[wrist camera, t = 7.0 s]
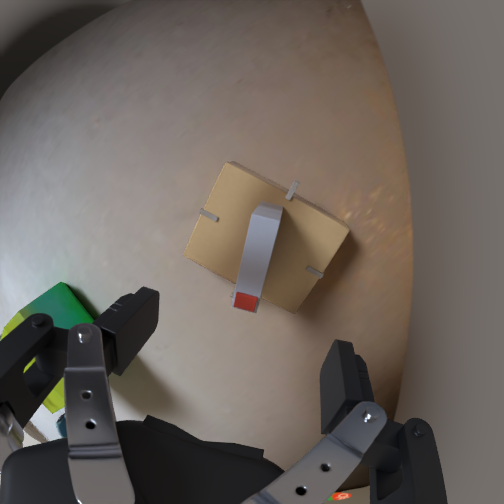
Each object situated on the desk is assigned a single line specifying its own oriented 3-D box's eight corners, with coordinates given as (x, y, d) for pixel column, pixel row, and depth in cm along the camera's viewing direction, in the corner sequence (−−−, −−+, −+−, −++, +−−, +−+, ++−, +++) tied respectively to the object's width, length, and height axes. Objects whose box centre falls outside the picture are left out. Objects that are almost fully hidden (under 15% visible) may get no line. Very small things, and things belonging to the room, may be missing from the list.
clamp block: (352, 211, 21) (360, 218, 19) (289, 309, 25) (288, 326, 22) (238, 147, 21) (230, 147, 18) (187, 255, 25) (176, 266, 22)
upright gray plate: (261, 200, 20) (251, 214, 15) (283, 206, 19) (280, 222, 15) (243, 277, 22) (230, 308, 17) (263, 282, 22) (255, 315, 17)
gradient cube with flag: (70, 275, 28) (-22, 342, 14) (124, 339, 29) (52, 430, 15) (45, 314, 31) (-24, 372, 17) (89, 366, 33) (32, 436, 19)
